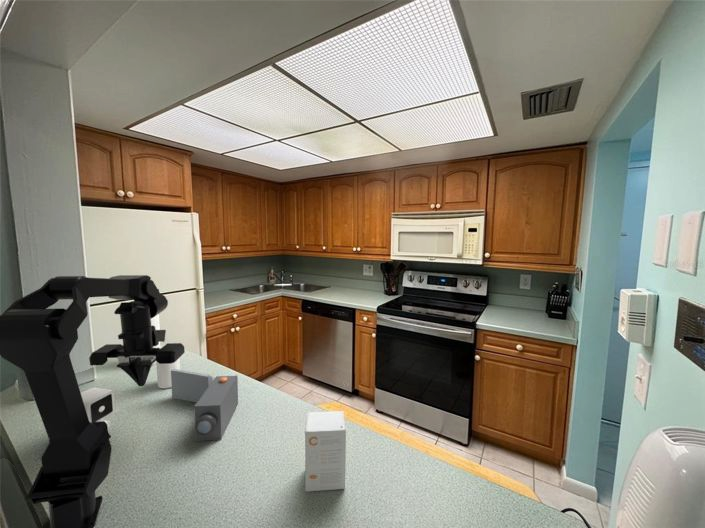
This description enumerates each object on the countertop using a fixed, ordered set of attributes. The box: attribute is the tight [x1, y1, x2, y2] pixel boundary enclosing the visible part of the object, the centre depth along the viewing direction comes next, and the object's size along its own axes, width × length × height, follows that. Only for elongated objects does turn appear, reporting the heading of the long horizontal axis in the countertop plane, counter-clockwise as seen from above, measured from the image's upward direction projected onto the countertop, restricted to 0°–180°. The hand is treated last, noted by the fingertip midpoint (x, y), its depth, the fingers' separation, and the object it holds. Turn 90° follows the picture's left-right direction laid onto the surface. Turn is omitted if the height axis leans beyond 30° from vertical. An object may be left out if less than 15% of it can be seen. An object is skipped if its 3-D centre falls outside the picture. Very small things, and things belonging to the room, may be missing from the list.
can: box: [156, 357, 181, 390], centre depth 94 cm, size 6×6×12 cm
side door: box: [171, 369, 211, 403], centre depth 85 cm, size 13×2×9 cm, turn 76°
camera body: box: [194, 375, 239, 442], centre depth 76 cm, size 17×8×10 cm, turn 6°
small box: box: [304, 410, 347, 493], centre depth 59 cm, size 8×6×13 cm
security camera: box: [80, 387, 116, 428], centre depth 71 cm, size 6×7×10 cm
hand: (142, 385), depth 71 cm, fingers closed
